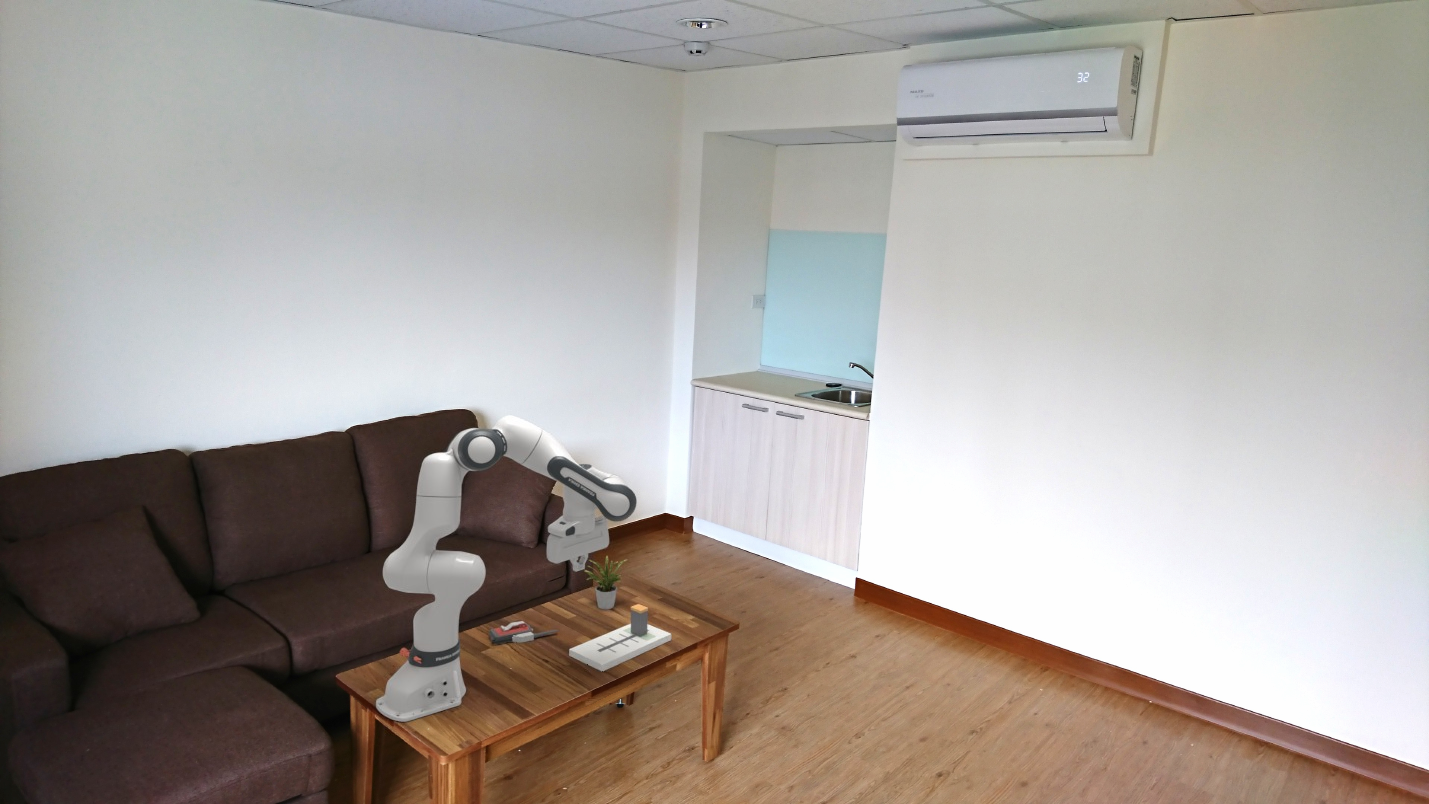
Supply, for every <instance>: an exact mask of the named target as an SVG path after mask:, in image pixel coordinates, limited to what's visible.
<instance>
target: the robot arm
mask: <svg viewBox="0 0 1429 804" xmlns="http://www.w3.org/2000/svg"><path fill="white" fill-rule="evenodd" d="M502 457H507V458H509V459H512V460H513V461H515V462H516V463H518V464H520V465H521V466H523V467H525V468H527V469H529V470H531V471H533V472H535V473H538V474H540V475H543V476H544V477H547V478H549V479H552V480H553V481H556V482H558V483H560V484H563V486H562V500H563V503H564V504H563V505H564V506H563V509H562V515H560V517H559V518H558V519H556V520H554V521H553V522H552V523H550V524H549V525H548V526H547V532H548V533H550V534H549V535H548V537H547V542H546V559H547V560H548V561H549V562H551V563H554V564H560V563H562V562H563V563H564V562H566V561H569V562H570V563H571V564H572V570H573V571H574V572H578V571H584V570H586V569H585V568H586V562H587V560H588V558H589V554H591V553H594V552H596V551H600V550H603V549H607V548H608V546H610V545H609V544H610V536H609V535H610V533H609V529H608V527H609V526H608V521H610V522H614V523H615V522H622V521H625V520H627V519H628V518H630V517H631V516H632V515H633V514H634V512H635V510H636V507H637V503H638V502H637V497H636V496H637V495H636V494H635V492H634V491H633V490H632V489H631V488H630V487H629V486H628V485H627V484H626V482H625V480H623V478H622V477H620V476H619V475H617V474H613V473H609V472H605V471H602V470H599V469H597V468H596V467H594V466H593V465H591V464H588V463H580V464H579V463H578V462H577V461H575V459H574V458H573V457H572V456H571V455H570V453H569V452H568V450H567V449H566V447H564V445H563V444H562V443H561V441H559V440H558V439H557V438H556V437H554V435H552V434H551V433H549V432H548V431H547V430H545V429H543V428H541V427H539V426H538V425H536V424H534V423H533V422H530V421H527V420H526V419H523V418H521V417H518V416H515V415H512V414H510V415H509V414H507V415H504V416H502V417H500V418H499V419H498V420H497V421H496V422H495V424H494V425H493V426H492V428H477V427H472V428H471V427H470V428H468V429H464V430H461V431H459V432H458V433H456V434H455V435H454V437H453V438H452V439H451V440H450V442H449V443H448V445H447V446H446V448H445V450H443V452H435V453H432V454H429V455H427V456H426V457H424V459H423V461H422V463H421V467H420V470H419V471H420V472H419V474H418V481H417V487H416V488H417V489H416V498H415V499H416V500H415V502H416V503H415V510H414V511H415V512H414V517H413V518H414V519H413V524H412V528H411V531H410V533H409V534H408V536H407V538H406V540H405V541H404V542H403V543H402V544H401V546H400V547H399V548H397V549H395V550H394V551H393V552H391V553H390V554H389V556H388V557H387V558H386V559H385V561H384V563H383V568H382V578H383V580H384V582H385V584H386V586H387V587H388V588H389V589H391V590H394V591H399V592H403V593H411V594H430V595H434V601H433V602H430V603H428V604H426V605H424V606H422V607H421V608H419V609H418V610H417V611H416V612H415V614H414V617H413V620H412V621H413V622H412V623H413V624H412V625H413V628H412V629H413V643H412V646H411V649H410V650H409V649H407V648H406V647H402V648H401V649H400V650H399V655H400V656H402V657H404V658H407V660H406V661H405V662H404V664H403V665H402V666H400V668H398V670H397V671H396V672H395V673H394V674H392V676H391V677H390V678H389V679H388V680H387V683H386V685H385V691H384V695H382V696H380V697H379V698H377V699H376V700H375V701H376V702H375V708H376V710H377V711H378V712H379V713H380V714H382V715H383V716H384V717H386V718H388V719H390V720H393V721H396V722H397V721H398V722H404V723H406V722H410V721H412V720H416V719H419V718H423V717H425V716H426V717H427V716H429V715H432V714H436V713H439V712H441V711H445V710H449V709H452V708H455V707H458V706H461V704H462V698H463V697H464V696H465V694H466V691H467V687H466V686H465V683H464V682H465V681H464V678H463V675H462V670H461V669H462V668H461V663H460V662H461V661H460V657H461V640H460V638H459V623H460V621H459V620H460V613H461V611H462V607H463V605H464V604H465V602H466V601H467V599H468V598H469V597H471V596H472V595H474V594H475V593H476V592H477V591H479V590H480V589H481V587H482V586H483V585H484V581H485V580H486V579H485V578H486V573H487V571H486V566H485V563H484V561H483V559H482V558H481V557H480V555H477V554H474V553H470V552H466V551H462V550H461V551H460V550H459V551H458V550H457V551H455V550H438V549H436V548H437V543H438V542H439V540H440V539H442V538H444V537H446V536H449V535H450V534H452V533H454V532H455V531H456V530H457V529H458V528H459V526H460V521H461V510H462V509H461V507H462V484H463V481H464V477H465V476H466V475H467V473H468V472H469V471H472V472H478V471H479V472H480V471H485V470H487V469H490V468H491V467H493V466H494V465H495V464H497V462H498V461H499V460H500V459H501V458H502ZM598 509H599V511H600V513H601V514H602V515H600V516H598V517H596V510H598ZM579 557H580V558H579Z"/></svg>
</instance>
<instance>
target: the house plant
mask: <svg viewBox="0 0 1429 804" xmlns="http://www.w3.org/2000/svg"><path fill="white" fill-rule="evenodd" d="M628 560H629V559H623V560H621V561H619V562H618V561H615V562H614V563H613V560H611V561H610V565H609V557H608V555H606V557H605V563H604V567H603V566H602V564H601V563H600V562H597V561H596V562H595V561H594V560H591V559H588V561H590V562H592V564H594V565H595V566H596V568H597V569H598V571H597V570H596V569H595V568H593V566H590V565H587V567H588V568H591V569H592V570H594V571H595V572H596V573H597V574H598V575H599V576H598V575H597V574H594V573H593V572H592V571H589V570H587V569H583V571H584V573H587V574H588V576H590V577H588V578H586V581H588V580H595V582H596V583H598V585H597V586H596V587H595V589H594V590H595V595H596V596H595V597H596V602H597V607H598V608H599V609H601V610H611V609H613V608H614V607H615V602H616V597H617V590H618V587H617V586H616V585H614V584H615V583H616V582H618V583H621V580H622V578H620V577H622V575H621V574H617V571H620V570H621V569H622V567H620V566H621V565H622V564H624V562H626V561H628ZM617 563H618V564H617ZM615 564H616V566H615ZM614 566H615V568H614V570H613V567H614ZM619 567H620V569H619ZM612 570H613V572H612Z"/></svg>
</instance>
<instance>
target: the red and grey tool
mask: <svg viewBox="0 0 1429 804" xmlns="http://www.w3.org/2000/svg"><path fill="white" fill-rule="evenodd" d="M533 631H534V629H533V628H532V627H531V624H528V623H527V622H525V621H523V620H519V621H515V622H513V621H512V622H510V623H508V625H506V626H504V625H500V627H496V628H491V629H489V639H490V642H491V644H492V645H496V644H497V646H499V645H502V644H503V645H505V644H507V642H508V643H516V642H517V643H518V644H519V643H520V644H521V643H526V642H532V641H535V639H537V638H539V637H543V636H548V635H550V634H553V633H558V632H559V630H558V629H552V630H547V631H542V632H538V633H537V632H535V633H533Z"/></svg>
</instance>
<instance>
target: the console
mask: <svg viewBox="0 0 1429 804" xmlns="http://www.w3.org/2000/svg"><path fill="white" fill-rule="evenodd" d="M670 641H672V633H670V632H668V631H666V630H663V629H660V628H658V627H655V626H653V625H651V624H648V623H647V634H645V635H642V636H638V635H636V634H633V633H631V623H629V624H627V625H623V626H622V627H619V628H616V629H615V630H612V631H609V632H608V633H605V634H603V635H600V636H598V637H595V638H592V639H590V640H588V641H586V642H583V643H581V644H579V645H576V646H574V647H571V648H569V650H568V651H569V653H568V655H569V657H572V658H573V659H575V660H577V661H579V662H581V663H583V664H585V665H587V664H588V666H589V667H592V668H594V669H595V670H598V671H599V672H602V671H603V672H604V671H607V670H609V669H611V668H613V667H616V666H617V665H620V664H622V663H624V662H627V661H629V660H631V659H633V658H635V657H637V656H639V655H642V654H643V653H644V654H645V653H646V652H648V651H650V650H653V649H654V648H655V649H656V647H659V646H661V645H664V644H666V643H668V642H670Z"/></svg>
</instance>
